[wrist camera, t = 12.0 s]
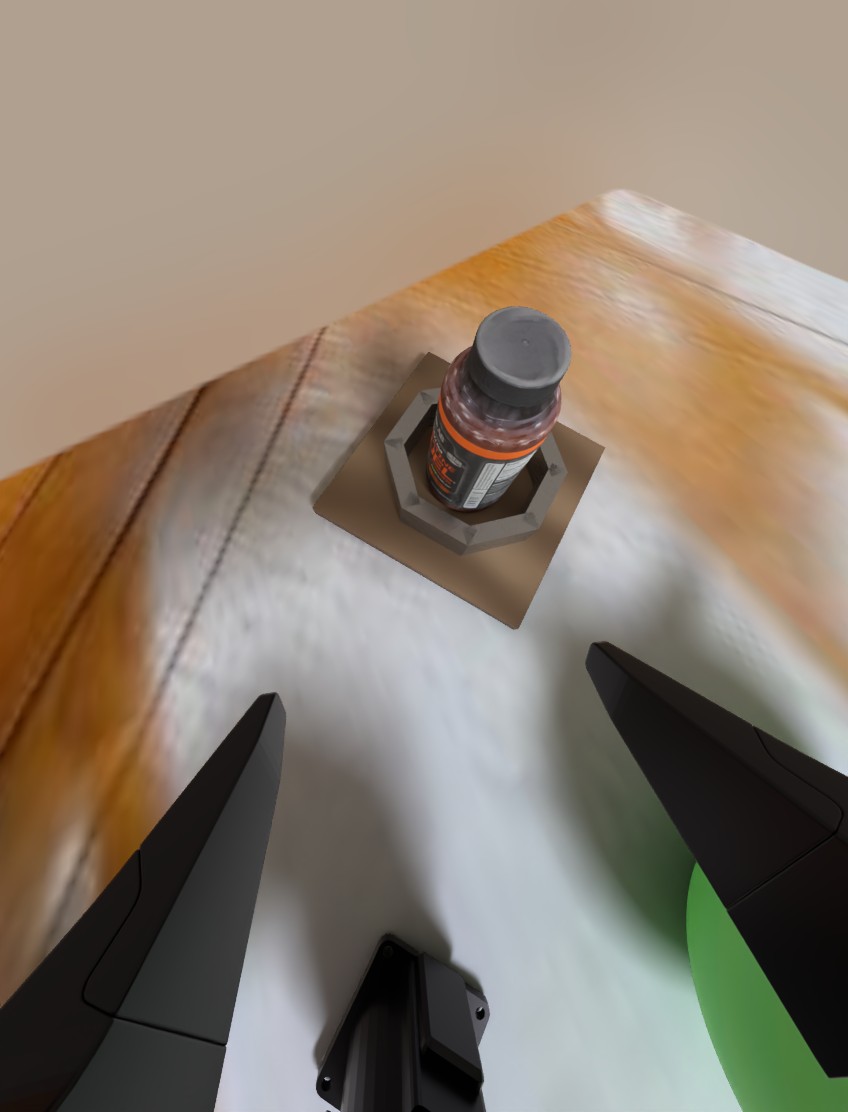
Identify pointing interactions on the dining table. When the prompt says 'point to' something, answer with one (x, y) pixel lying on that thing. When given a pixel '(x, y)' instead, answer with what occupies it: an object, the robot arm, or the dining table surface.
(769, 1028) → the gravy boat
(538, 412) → the supplement bottle
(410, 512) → the ring
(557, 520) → the stand
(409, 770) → the dining table surface
